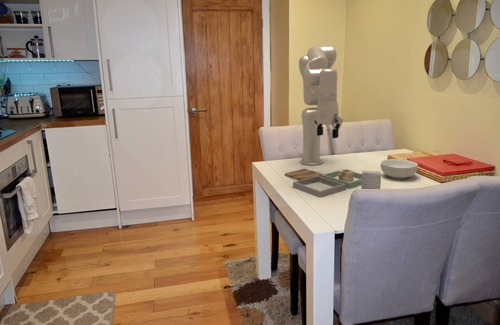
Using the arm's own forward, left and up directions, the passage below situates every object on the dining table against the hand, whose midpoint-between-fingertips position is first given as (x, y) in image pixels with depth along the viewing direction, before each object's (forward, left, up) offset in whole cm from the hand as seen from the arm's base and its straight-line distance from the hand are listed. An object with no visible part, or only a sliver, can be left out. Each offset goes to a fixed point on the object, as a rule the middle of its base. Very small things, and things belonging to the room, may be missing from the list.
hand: (327, 136), depth 167 cm
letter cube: (0, +13, -24) cm, 27 cm away
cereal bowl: (+12, +37, -24) cm, 46 cm away
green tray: (0, +13, -24) cm, 27 cm away
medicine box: (+17, +10, -24) cm, 31 cm away
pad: (-19, +3, -24) cm, 30 cm away
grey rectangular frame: (0, -5, -24) cm, 24 cm away
